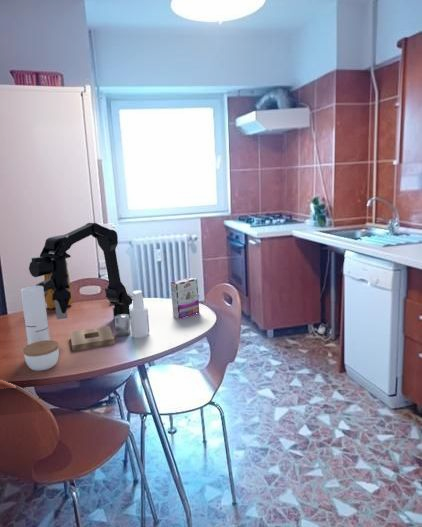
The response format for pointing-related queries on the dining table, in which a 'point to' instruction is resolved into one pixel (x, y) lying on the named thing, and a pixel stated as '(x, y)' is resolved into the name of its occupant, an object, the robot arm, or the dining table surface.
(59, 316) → the square bit
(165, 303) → the dining table surface
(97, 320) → the dining table surface
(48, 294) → the coffee package
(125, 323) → the clear glass jar
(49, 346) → the lidded jar
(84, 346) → the bore block
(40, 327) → the cylindrical container
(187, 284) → the candy bar box
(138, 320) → the spray bottle
